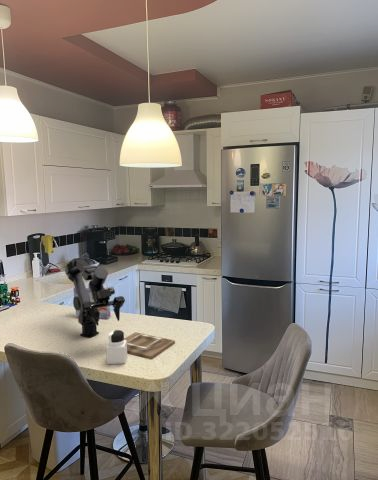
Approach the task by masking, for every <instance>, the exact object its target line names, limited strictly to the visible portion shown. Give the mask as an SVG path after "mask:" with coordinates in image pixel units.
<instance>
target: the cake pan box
mask: <svg viewBox="0 0 378 480" xmlns="http://www.w3.org/2000/svg"><path fill="white" fill-rule="evenodd" d="M85 287H86V290H87V293H88V295H89V298H90V301H91V302H94V299H92V293H91V290H90V289H89V284H88V285H85ZM103 287H104V289H108V288H109V285H103ZM108 301H110V299H109V300H108ZM72 304H73V308H74V310H75V316H76V317H75V318H76V319H78V317H79V314H80V308H81V303H80V301H79V298H78V295H77V292H76V289H75V286H74V287H73V300H72ZM98 310H99V312H100V316H99V320H101V319H102V320H103V319H104V320H107V319H109V318H110V317H111V314H112V313H111V308H110V306H106V307H101V308H98Z"/></svg>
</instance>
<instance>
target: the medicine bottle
mask: <svg viewBox="0 0 378 480" xmlns="http://www.w3.org/2000/svg"><path fill="white" fill-rule="evenodd" d="M124 338H125V333H124V331H122V330H121V329H120V330H119V329H116V330H115V329H114V330H112V331H109V332H108V343H107V345H106V364H107V365H118V364H119V365H121V364H123V365H124V364H126V361H127V358H128V353H127V341H126V340H124Z"/></svg>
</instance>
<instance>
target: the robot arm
mask: <svg viewBox="0 0 378 480" xmlns="http://www.w3.org/2000/svg"><path fill="white" fill-rule="evenodd" d="M64 272H65V275H66V276H67V279H69V281H71V282H73V286H74V287H75V289H76V292H77V295H78V298H79V301H80V303H81V308H80V314H79V317H78V318H77V321H78V324H80V325H81V333H80V334H79V336H82V337H85V338H88V339H89V338H92V337H95V336H96V335H98V334H99V333H100V332H99V331H98V330H97V329H98V327H97V326H99V321H100V319H99V316H100V312H99V310H98V308H101V307H106V306H112V307H113V308H112V309H113V312H114V315H115V317H116V320H117V321H118V322H119V321H120V309H121V308H122V307H123V306H124V303H125V302H126V300H125V297H124V296H123V295H119V296H114V298H113V300H111V297H112V295H115V293H116V291H115V288H114V286H108V289H104V287H103V286H104V284H105V283H106V281H107V278H108V275H109V271H108V270H107V269H106V268H104V267H102V266H101V265H93V264H92V265H91V264H89V263H88V262H87V261H85V260H84V257H76V258H72V259H71V260H70V261H69V262H68V263H67V264H66V266H65V268H64ZM84 281H89V283H88V285H89V289H90V290H91V293H92V299H94V302H91V301H90V298H89V295H88V293H87V290H86V287H85V286H86V285H85V283H84ZM108 300H109V301H108Z"/></svg>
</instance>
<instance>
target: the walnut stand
mask: <svg viewBox="0 0 378 480" xmlns="http://www.w3.org/2000/svg"><path fill="white" fill-rule="evenodd" d="M124 340H126V341H127V354H130V355H133V356H137V357H141V358H144V359H149V360H153V359H155V358H156V357H157V356H158V355H160V354H161V353H163V352H164V351H166V350H168V349H169V348H170V347H172V346H173V345H174V344H175V343H176V340H173V339H168V338H164V337H160V336H155V335H150V334H145V333H141V332H133V333H131V334H130V335H128V336H126V337H124Z"/></svg>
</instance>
